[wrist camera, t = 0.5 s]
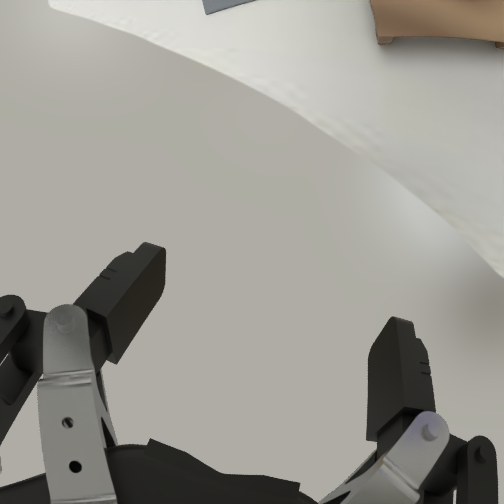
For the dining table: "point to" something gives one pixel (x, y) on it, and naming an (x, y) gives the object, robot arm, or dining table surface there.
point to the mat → (220, 4)
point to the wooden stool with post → (439, 19)
